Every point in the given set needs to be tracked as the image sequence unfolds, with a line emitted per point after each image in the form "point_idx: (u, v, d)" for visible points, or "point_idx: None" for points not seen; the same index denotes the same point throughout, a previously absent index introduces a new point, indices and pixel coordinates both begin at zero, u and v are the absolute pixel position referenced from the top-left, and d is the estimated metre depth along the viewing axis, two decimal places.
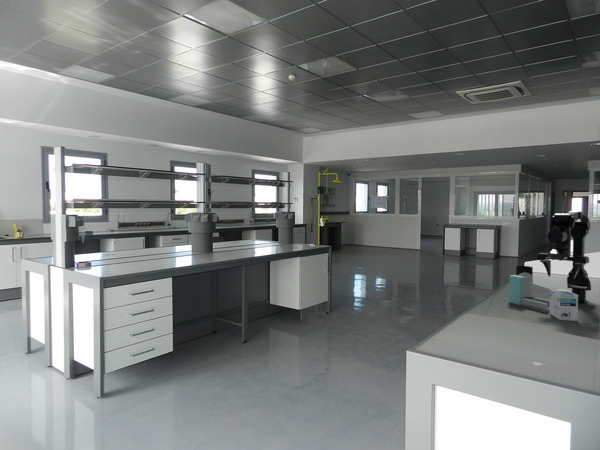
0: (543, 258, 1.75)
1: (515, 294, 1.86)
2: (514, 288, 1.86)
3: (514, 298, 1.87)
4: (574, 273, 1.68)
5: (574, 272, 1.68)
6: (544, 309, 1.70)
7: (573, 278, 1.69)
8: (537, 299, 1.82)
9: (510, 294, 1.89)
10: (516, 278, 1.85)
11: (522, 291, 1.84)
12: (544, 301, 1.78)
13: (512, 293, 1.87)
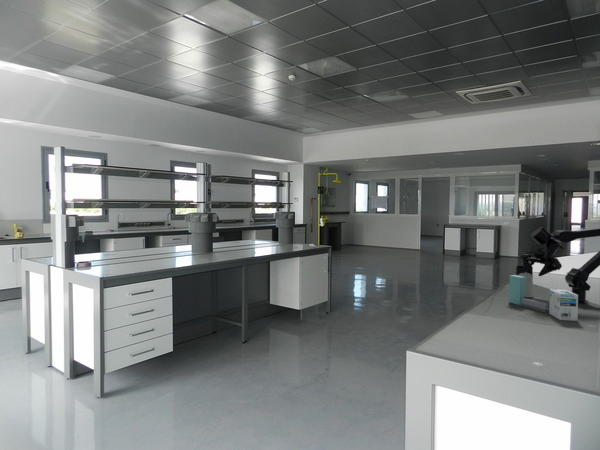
0: (525, 256, 1.96)
1: (515, 294, 1.86)
2: (514, 288, 1.86)
3: (514, 298, 1.87)
4: (541, 270, 1.84)
5: (542, 269, 1.85)
6: (544, 309, 1.70)
7: (539, 274, 1.85)
8: (537, 299, 1.82)
9: (510, 294, 1.89)
10: (516, 278, 1.85)
11: (522, 291, 1.84)
12: (544, 301, 1.78)
13: (512, 293, 1.87)
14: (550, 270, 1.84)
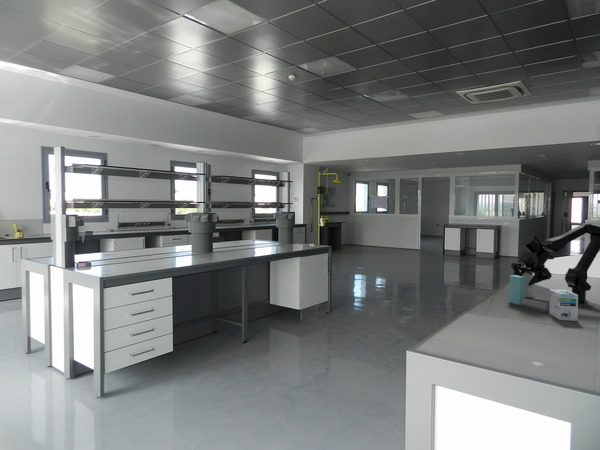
0: (515, 265, 1.94)
1: (515, 294, 1.86)
2: (514, 288, 1.86)
3: (514, 298, 1.87)
4: (531, 279, 1.83)
5: (532, 279, 1.83)
6: (544, 309, 1.70)
7: (528, 283, 1.83)
8: (537, 299, 1.82)
9: (510, 294, 1.89)
10: (516, 278, 1.85)
11: (522, 291, 1.84)
12: (544, 301, 1.78)
13: (512, 293, 1.87)
14: (540, 279, 1.83)
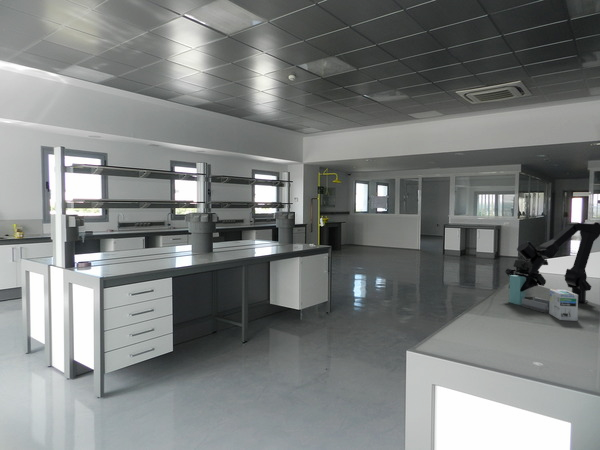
0: (510, 270, 1.93)
1: (515, 294, 1.86)
2: (514, 288, 1.86)
3: (514, 298, 1.87)
4: (523, 285, 1.83)
5: (523, 284, 1.83)
6: (544, 309, 1.70)
7: (520, 289, 1.83)
8: (537, 299, 1.82)
9: (510, 293, 1.89)
10: (516, 278, 1.85)
11: (522, 291, 1.84)
12: (544, 301, 1.78)
13: (512, 293, 1.87)
14: (532, 285, 1.83)
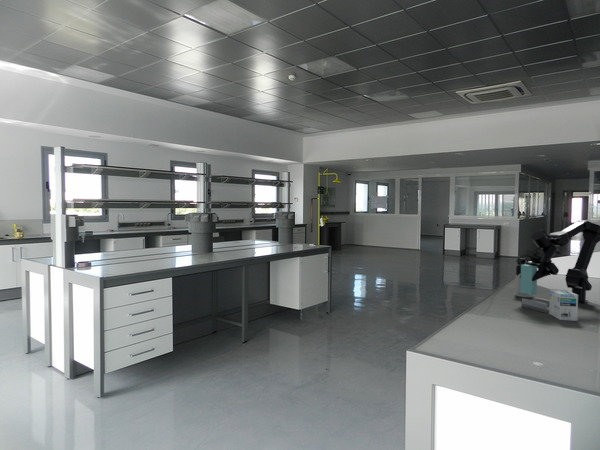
0: (521, 260, 1.88)
1: (527, 284, 1.81)
2: (526, 278, 1.81)
3: (525, 288, 1.81)
4: (535, 275, 1.78)
5: (535, 274, 1.78)
6: (544, 309, 1.70)
7: (532, 279, 1.78)
8: (537, 299, 1.82)
9: (521, 283, 1.84)
10: (527, 267, 1.80)
11: (534, 281, 1.79)
12: (544, 301, 1.78)
13: (524, 283, 1.82)
14: (544, 275, 1.78)
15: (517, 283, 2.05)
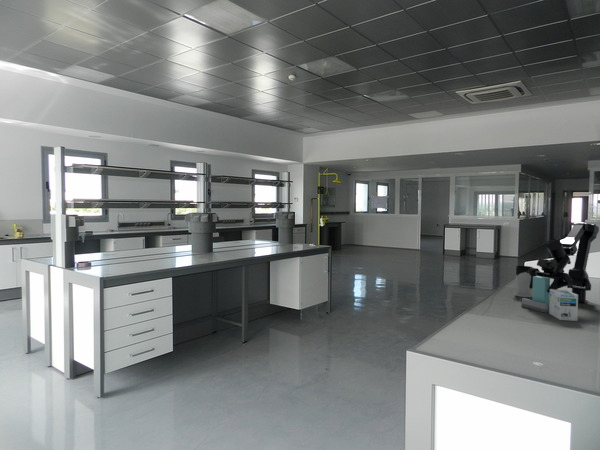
0: (533, 270, 1.83)
1: (539, 296, 1.75)
2: (538, 290, 1.76)
3: (538, 300, 1.76)
4: (550, 286, 1.72)
5: (551, 285, 1.72)
6: (544, 309, 1.70)
7: (547, 290, 1.72)
8: None
9: (533, 296, 1.79)
10: (540, 279, 1.75)
11: (547, 293, 1.74)
12: None
13: (536, 295, 1.77)
14: (560, 286, 1.72)
15: (517, 283, 2.05)
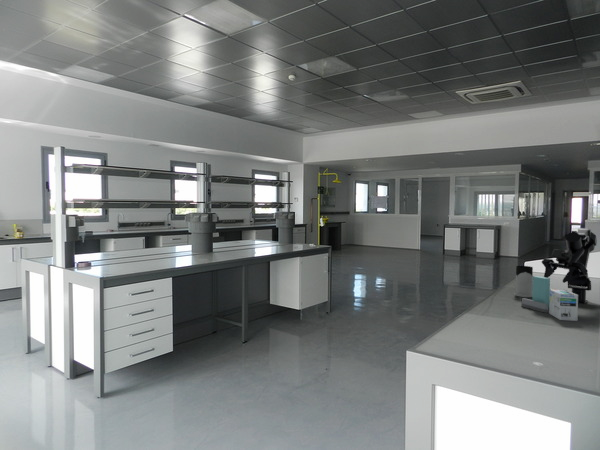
0: (547, 261, 1.86)
1: (539, 296, 1.75)
2: (538, 290, 1.76)
3: (538, 300, 1.76)
4: (566, 276, 1.74)
5: (566, 275, 1.74)
6: (544, 309, 1.70)
7: (563, 280, 1.74)
8: None
9: (533, 296, 1.79)
10: (540, 279, 1.75)
11: (547, 293, 1.74)
12: None
13: (536, 295, 1.77)
14: (575, 276, 1.74)
15: (517, 283, 2.05)
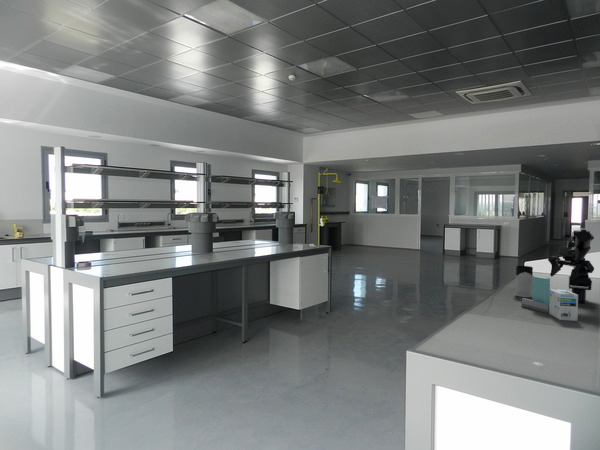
0: (553, 258, 1.87)
1: (539, 296, 1.75)
2: (538, 290, 1.76)
3: (538, 300, 1.76)
4: (573, 273, 1.75)
5: (573, 272, 1.76)
6: (544, 309, 1.70)
7: (569, 277, 1.76)
8: None
9: (533, 296, 1.79)
10: (540, 279, 1.75)
11: (547, 293, 1.74)
12: None
13: (536, 295, 1.77)
14: (582, 273, 1.75)
15: (517, 283, 2.05)
